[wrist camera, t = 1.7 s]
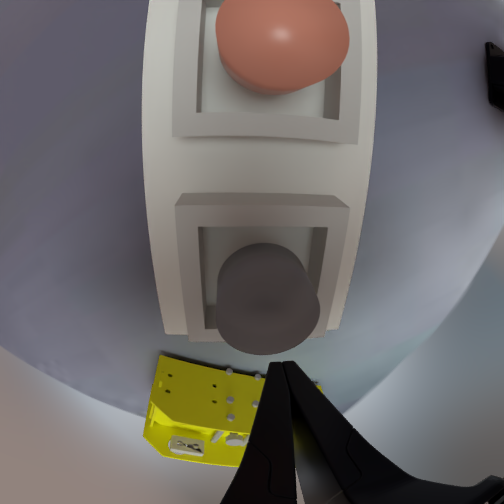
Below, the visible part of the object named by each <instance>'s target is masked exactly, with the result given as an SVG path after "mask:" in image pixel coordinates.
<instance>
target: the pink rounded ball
mask: <svg viewBox="0 0 504 504" xmlns="http://www.w3.org/2000/svg"><path fill="white" fill-rule="evenodd" d="M215 31H216V38H217V45H218V52H219V57H220V60H221V63H222V65H223V67H224V69H225V70H226V72H227V73H228V74H229V75H230V77H231V78H232V79H233V80H235V81H236V82H237V83H238V84H240V85H241V86H243V87H245V88H247V89H249V90H251V91H254V92H257V93H261V94H266V95H284V94H289V93H293V92H295V91H298V90H301V89H303V88H305V87H308V86H310V85H313V84H315V83H318V82H320V81H322V80H324V79H326V78H327V77H329V76H331V75H332V74H333V73H334V72H335V71H336V70H337V69H338V68H339V67H340V66H341V65H342V63H343V61H344V60H345V58H346V55H347V53H348V49H349V41H350V36H349V29H348V25H347V22H346V20H345V17H344V15H343V14H342V12H341V10H340V9H339V8H338V6H337V5H336V4H335V3H334V2H333V1H332V0H224V2H223V3H222V5H221V6H220V8H219V10H218V13H217V17H216V23H215Z"/></svg>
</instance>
